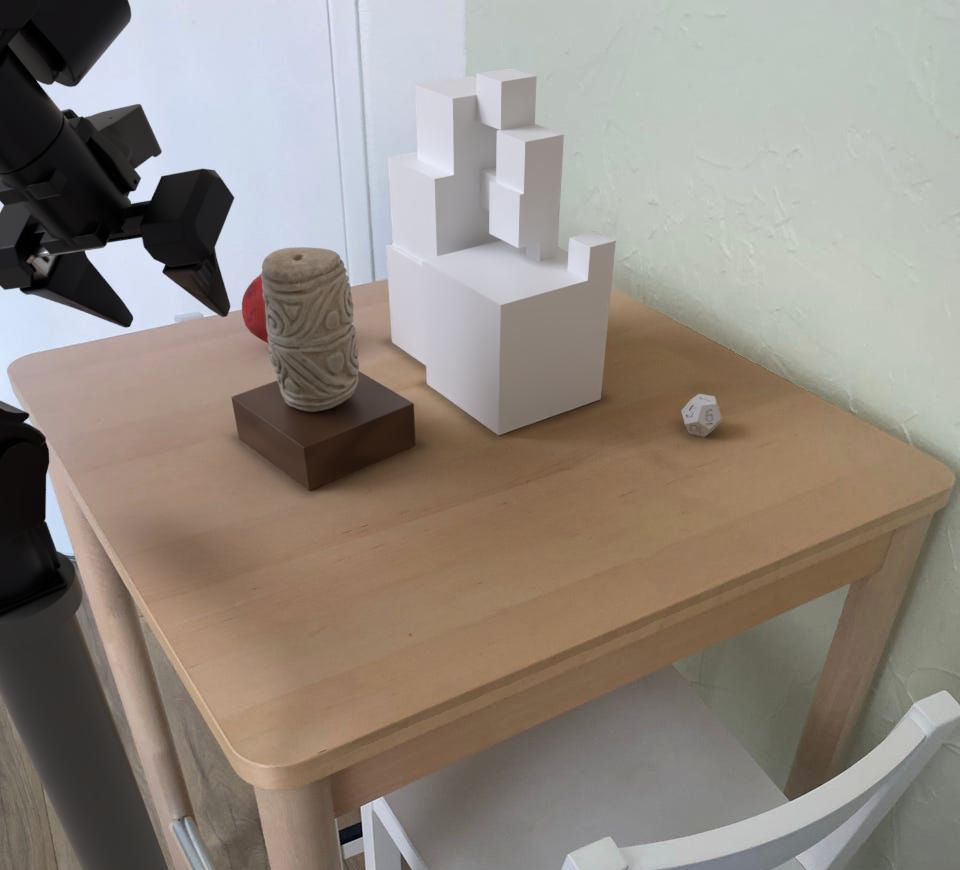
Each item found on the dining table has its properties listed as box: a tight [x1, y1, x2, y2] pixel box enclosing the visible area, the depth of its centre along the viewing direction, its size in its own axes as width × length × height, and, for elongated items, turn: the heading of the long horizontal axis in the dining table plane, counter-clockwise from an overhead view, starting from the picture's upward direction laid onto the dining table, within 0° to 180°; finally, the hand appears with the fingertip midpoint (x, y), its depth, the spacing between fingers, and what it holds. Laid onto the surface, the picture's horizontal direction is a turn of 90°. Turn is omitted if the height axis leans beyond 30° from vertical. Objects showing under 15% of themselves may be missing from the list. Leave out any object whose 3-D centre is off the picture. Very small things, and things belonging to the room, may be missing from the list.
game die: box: [680, 393, 723, 438], centre depth 84 cm, size 4×4×3 cm
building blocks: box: [385, 67, 617, 436], centre depth 85 cm, size 22×12×25 cm, turn 35°
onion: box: [241, 273, 269, 344], centre depth 95 cm, size 6×6×8 cm
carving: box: [260, 246, 360, 412], centre depth 77 cm, size 6×8×12 cm
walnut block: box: [231, 370, 417, 491], centre depth 82 cm, size 11×11×4 cm
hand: (177, 317), depth 73 cm, fingers open, 9 cm apart
